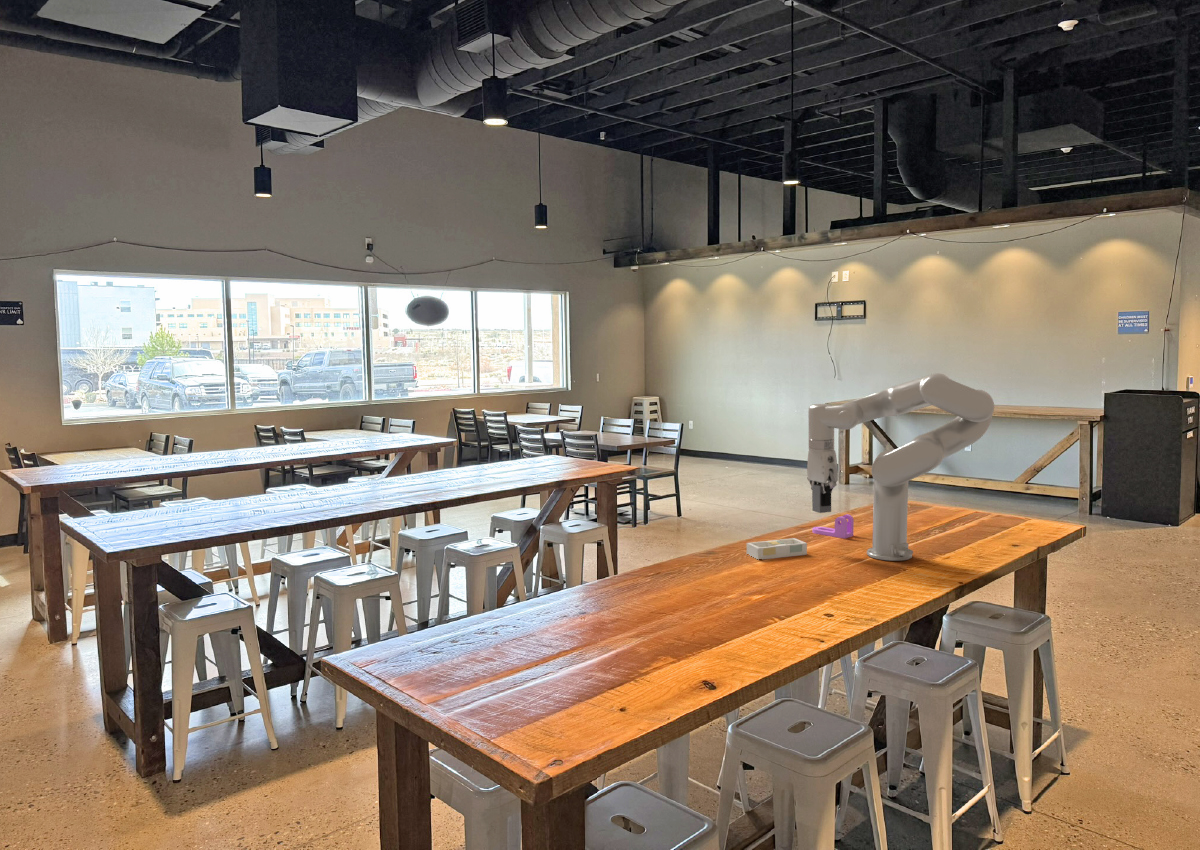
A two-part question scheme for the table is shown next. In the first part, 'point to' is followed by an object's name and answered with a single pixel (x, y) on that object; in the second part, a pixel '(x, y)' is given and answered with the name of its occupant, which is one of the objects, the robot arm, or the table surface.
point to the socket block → (777, 548)
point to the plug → (818, 500)
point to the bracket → (838, 528)
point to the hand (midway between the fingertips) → (821, 503)
